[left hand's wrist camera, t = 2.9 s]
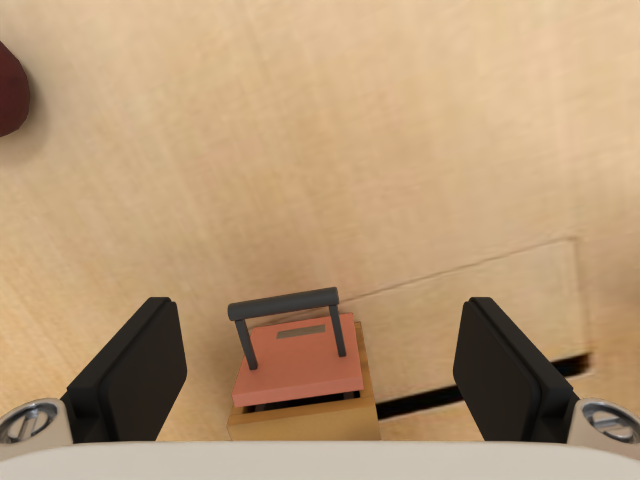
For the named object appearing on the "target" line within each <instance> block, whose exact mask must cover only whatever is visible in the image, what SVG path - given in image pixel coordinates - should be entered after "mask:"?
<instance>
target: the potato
mask: <svg viewBox="0 0 640 480" xmlns="http://www.w3.org/2000/svg"><path fill="white" fill-rule="evenodd" d="M29 101H30V93H29V87H28V82H27V76H26V74H25V72H24V70H23V68H22V66H21V64H20V62H19V60H18V59H17V58H16V57H15V56H14V55H13V54H12V53H11V52H10V51H9V50H8V49H7V48H6V47H5V46H4V44H3V43H2V42H1V41H0V137H2V136H5V135H8V134H10V133H12V132H14V131H16V130H17V129H19V127H20V126H21V125H22V123H23V122H24V121H25V119H26V117H27V115H28V109H29Z"/></svg>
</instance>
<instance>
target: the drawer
mask: <svg viewBox="0 0 640 480" xmlns="http://www.w3.org/2000/svg"><path fill="white" fill-rule="evenodd" d="M337 304H339V297H338V291H337V288H336V287H331V288H325V289H318V290H312V291H306V292H300V293H294V294H288V295H281V296H275V297H269V298H263V299H257V300H250V301H244V302H238V303H232V304H229V305H228V316H229V319H230V320H231V321H235V324H236V327H237V330H238V334H239V337H240V340H241V343H242V347H243V350H244V353H245V355H244V358H243V361H242V364H241V367H240V370H239V373H238V376H237V379H236V382H235V386H234V389H233V392H232V395H231V396H232V399H233V402H234V404H235V407H243V406H250V405H256V407H255V411H254V412H261V411H268V410H275V409H282V408H289V407H297V406H304V405H311V404H318V403H326V402H333V401H340V400H347V399H355V398H359V397H358V392H357V390H363V389H364V386H363V379H362V373H361V366H360V359H359V352H358V345H357V339H356V332H355V325H354V319H353V313H346V314H340V315H339V312H338V307H337ZM325 306H329V310H330V315H331V316H327V317H321V318H314V319H308V320H301V321H295V322H289V323H282V324H276V325H269V326H263V327H256V328H253V330H252V333H251V336H249V333H248V329H247V326H246V323H245V319H249V318H255V317H261V316H268V315H274V314H280V313H287V312H293V311H299V310H306V309H312V308H318V307H325Z"/></svg>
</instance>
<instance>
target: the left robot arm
mask: <svg viewBox="0 0 640 480" xmlns="http://www.w3.org/2000/svg"><path fill="white" fill-rule="evenodd" d="M186 376H187V366H186V360H185V353H184V347H183V341H182V335H181V329H180V322H179V316H178V310H177V305H176V303H175V302H171V299H170V298H169V297H150V298H149V299H147V301H146V302H145V303H144V304H143V305H142V306H141V307H140V308H139V309H138V310H137V311H136V313H135V314H134V315H133V316H132V317H131V318H130V319H129V320H128V321H127V322H126V324H125V325H124V326H123V327H122V328H121V329H120V330H119V331H118V332H117V333H116V334H115V336H114V337H113V338H112V339H111V340H110V341H109V342H108V343H107V344H106V345H105V346H104V348H103V349H102V350H101V351H100V352H99V353H98V354H97V355H96V356H95V357H94V358H93V360H92V361H91V362H90V363H89V364H88V365H87V366H86V367H85V368H84V369H83V371H82V372H81V373H80V374H79V375H78V376H77V377H76V378H75V379H74V380H73V381H72V383H71V384H70V385H69V386H68V387H67V392H66V393H65V394H64V395H63V396H62V397H61V398H60V400H59V399H57V398H43V399H37V400H34V401H31V402H27V403H25V404H23V405H21V406H18V407H16V408H14V409H13V410H11V411H9V412H8V413H6V414H5V415H3V416H2V417H1V418H0V480H640V418H639V417H638V416H637V415H635V414H634V413H632V412H631V411H629V410H627V409H626V408H624V407H622V406H619V405H617V404H615V403H613V402H609V401H606V400H603V399H597V398H583V399H581V400H580V398H579V397H578V396H577V395H576V394H575V393H574V392H573V387H572V386H571V385H570V384H569V383H568V381H567V380H566V379H565V378H564V377H563V376H562V375H561V374H560V373H559V372H558V371H557V369H556V368H555V367H554V366H553V365H552V364H551V363H550V362H549V361H548V360H547V358H546V357H545V356H544V355H543V354H542V353H541V352H540V351H539V350H538V349H537V348H536V346H535V345H534V344H533V343H532V342H531V341H530V340H529V339H528V338H527V337H526V336H525V334H524V333H523V332H522V331H521V330H520V329H519V328H518V327H517V326H516V325H515V324H514V322H513V321H512V320H511V319H510V318H509V317H508V316H507V315H506V314H505V313H504V311H503V310H502V309H501V308H500V307H499V306H498V305H497V304H496V303H495V302H494V301H493V299H491V298H490V297H471V298H470V299H469V302H465V303H464V305H463V310H462V316H461V322H460V329H459V335H458V341H457V347H456V353H455V360H454V366H453V376H454V380H455V382H456V384H457V386H458V388H459V390H460V392H461V394H462V396H463V398H464V400H465V402H466V404H467V406H468V408H469V410H470V412H471V414H472V416H473V418H474V420H475V422H476V424H477V426H478V428H479V430H480V432H481V434H482V436H483V438H484V440H485V441H155V440H156V438H157V436H158V434H159V432H160V430H161V428H162V426H163V424H164V422H165V420H166V418H167V416H168V414H169V412H170V410H171V408H172V406H173V404H174V402H175V400H176V398H177V396H178V394H179V392H180V390H181V388H182V386H183V384H184V382H185V380H186Z"/></svg>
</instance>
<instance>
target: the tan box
mask: <svg viewBox="0 0 640 480" xmlns="http://www.w3.org/2000/svg"><path fill="white" fill-rule="evenodd" d="M354 325H355V332H356V339H357V345H358V352H359V359H360V366H361V373H362V379H363V386H364V389H363V390H357V392H358V397H359V398H355V399H347V400H340V401H333V402H326V403H318V404H311V405H304V406H297V407H289V408H282V409H275V410H268V411H261V412H254V411H255V407H256V405H250V406H243V407H235V404H233V407H232V410H231V414H230V417H229V420H228V423H227V429H228V432H229V435H230V437H231V440H232V441H381V436H380V430H379V424H378V418H377V412H376V406H375V401H374V395H373V390H372V384H371V378H370V373H369V367H368V361H367V356H366V350H365V345H364V339H363V333H362V327H361V322H357V323H354Z"/></svg>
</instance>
